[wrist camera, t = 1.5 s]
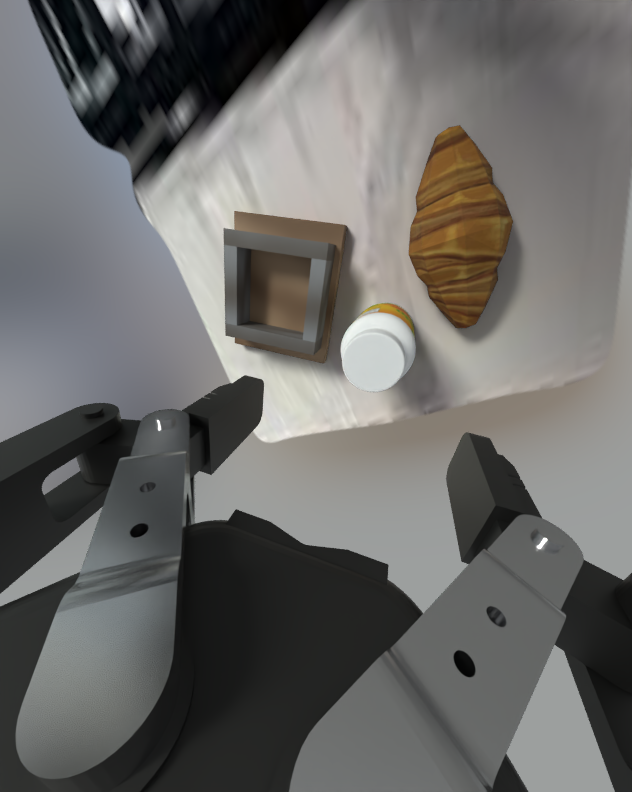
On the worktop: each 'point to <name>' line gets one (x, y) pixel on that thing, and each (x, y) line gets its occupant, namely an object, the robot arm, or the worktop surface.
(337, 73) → the worktop surface
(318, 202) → the worktop surface
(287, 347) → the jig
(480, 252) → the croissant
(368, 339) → the supplement bottle
